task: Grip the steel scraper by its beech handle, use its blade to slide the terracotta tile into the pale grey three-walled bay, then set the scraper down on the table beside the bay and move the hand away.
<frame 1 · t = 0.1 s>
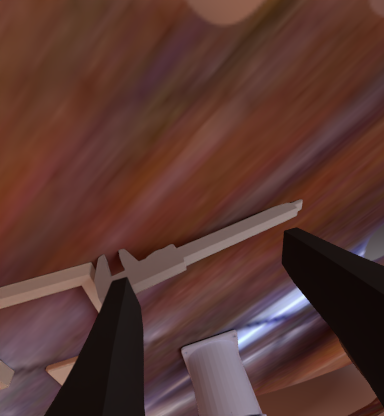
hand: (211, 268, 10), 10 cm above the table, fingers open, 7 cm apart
bay: (43, 323, 23), on the table
caliper: (205, 227, 22), on the table
tile: (84, 364, 29), on the table
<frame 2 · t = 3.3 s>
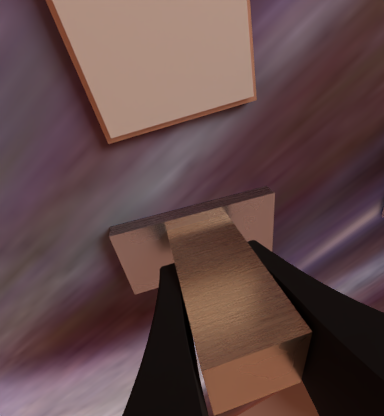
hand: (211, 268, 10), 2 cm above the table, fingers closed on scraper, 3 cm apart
tile: (158, 29, 8), on the table
scraper: (197, 236, 12), on the table, touching gripper
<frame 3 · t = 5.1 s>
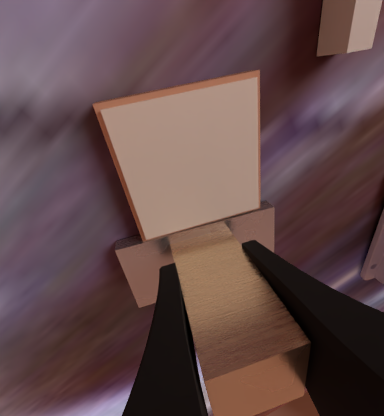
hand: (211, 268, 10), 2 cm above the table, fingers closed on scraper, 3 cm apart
tile: (188, 159, 10), on the table, touching scraper
scraper: (200, 250, 12), on the table, touching gripper, tile
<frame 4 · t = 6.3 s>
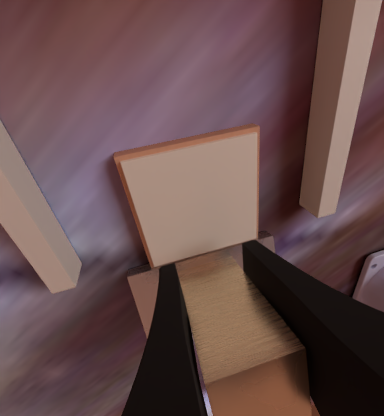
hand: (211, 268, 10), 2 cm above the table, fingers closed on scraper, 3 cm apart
bay: (176, 112, 9), on the table
tile: (194, 195, 11), on the table, touching scraper
scraper: (206, 280, 13), point 1 cm above the table, tilted 16°, touching gripper, tile
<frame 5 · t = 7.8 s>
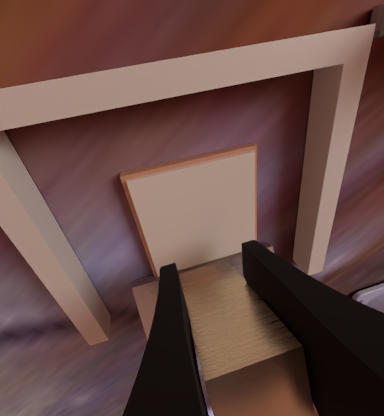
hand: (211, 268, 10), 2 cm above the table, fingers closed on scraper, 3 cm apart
bay: (192, 205, 11), on the table
tile: (195, 208, 12), on the table
scraper: (209, 292, 13), point 1 cm above the table, tilted 22°, touching gripper
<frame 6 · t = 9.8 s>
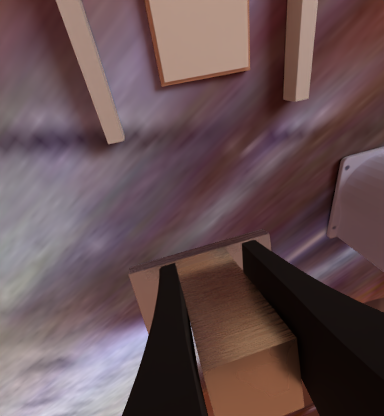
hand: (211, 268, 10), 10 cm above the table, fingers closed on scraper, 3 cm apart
bay: (193, 8, 13), on the table
tile: (196, 22, 14), on the table
scraper: (205, 276, 14), point 7 cm above the table, tilted 16°, touching gripper
when the fingers open (3 cm above the table, at t = 11.7 s): scraper stays where it is, on the table.
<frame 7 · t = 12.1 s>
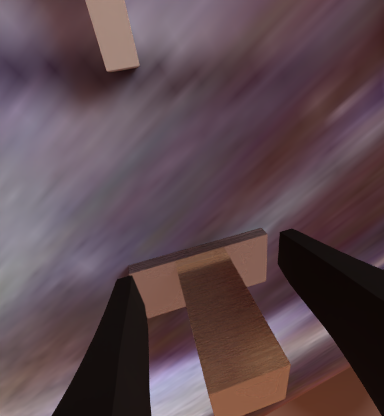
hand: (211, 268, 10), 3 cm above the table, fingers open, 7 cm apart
scraper: (201, 268, 14), on the table
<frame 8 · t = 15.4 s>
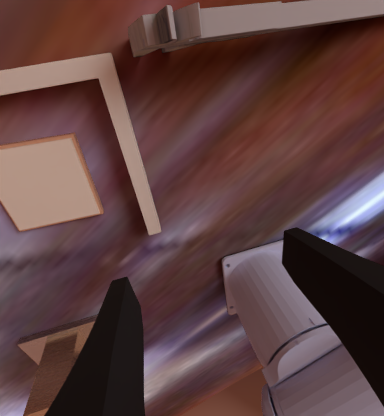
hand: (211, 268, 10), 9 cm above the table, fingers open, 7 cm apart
bay: (38, 177, 15), on the table
caliper: (285, 23, 15), on the table
tile: (48, 180, 16), on the table
scraper: (71, 334, 24), on the table
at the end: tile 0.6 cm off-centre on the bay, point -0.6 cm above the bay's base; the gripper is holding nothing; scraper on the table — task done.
